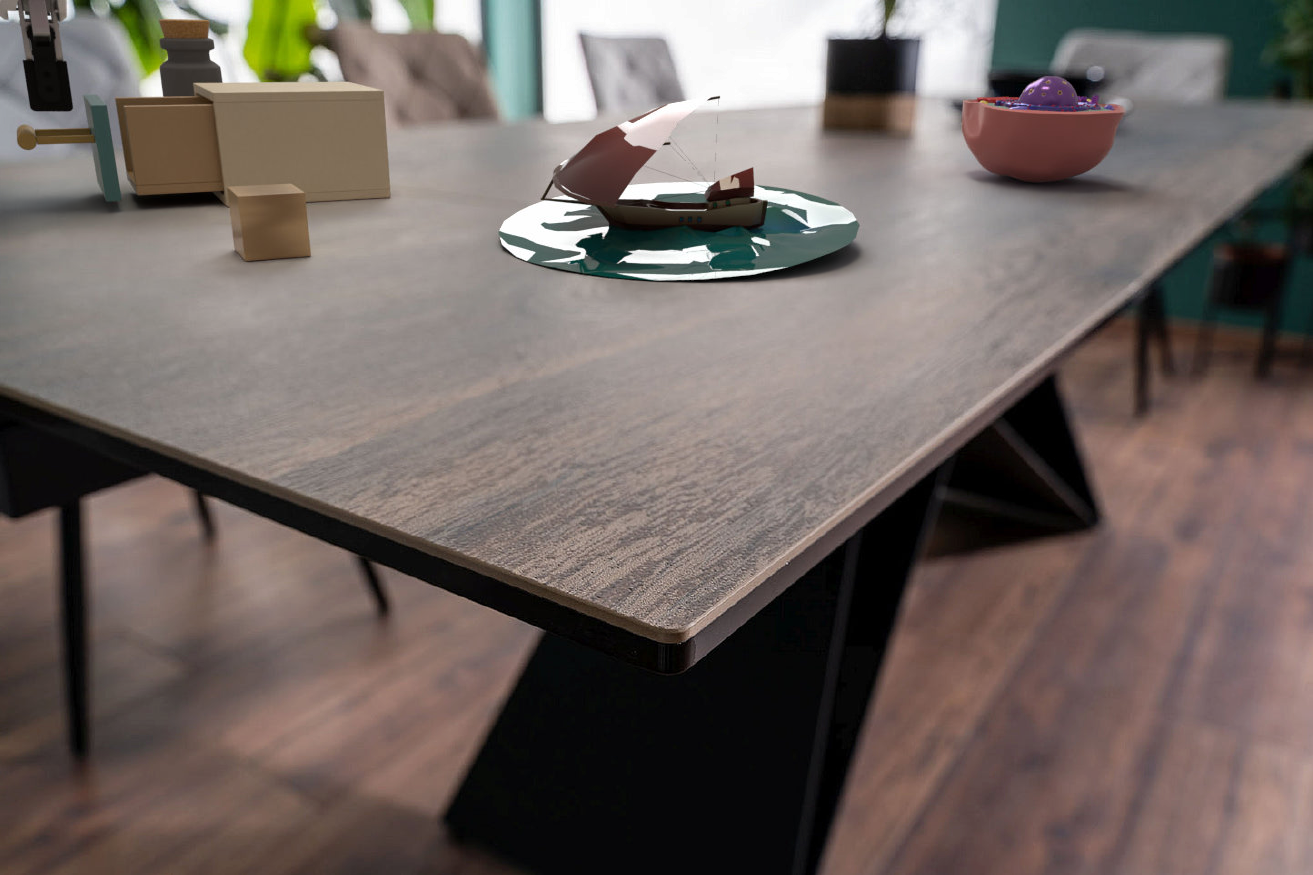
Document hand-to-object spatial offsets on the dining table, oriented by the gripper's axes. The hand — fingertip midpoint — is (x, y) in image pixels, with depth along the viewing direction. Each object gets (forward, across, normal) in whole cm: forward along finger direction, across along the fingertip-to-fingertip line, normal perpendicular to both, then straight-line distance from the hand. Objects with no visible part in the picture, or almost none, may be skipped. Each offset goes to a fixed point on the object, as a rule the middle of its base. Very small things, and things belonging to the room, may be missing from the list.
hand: (52, 110), depth 91 cm
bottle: (+8, -17, +14) cm, 23 cm away
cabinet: (+7, 0, +20) cm, 21 cm away
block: (+8, +27, +12) cm, 31 cm away
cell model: (+6, +20, +97) cm, 99 cm away
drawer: (+7, 0, +7) cm, 10 cm away
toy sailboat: (+7, +35, +42) cm, 55 cm away
